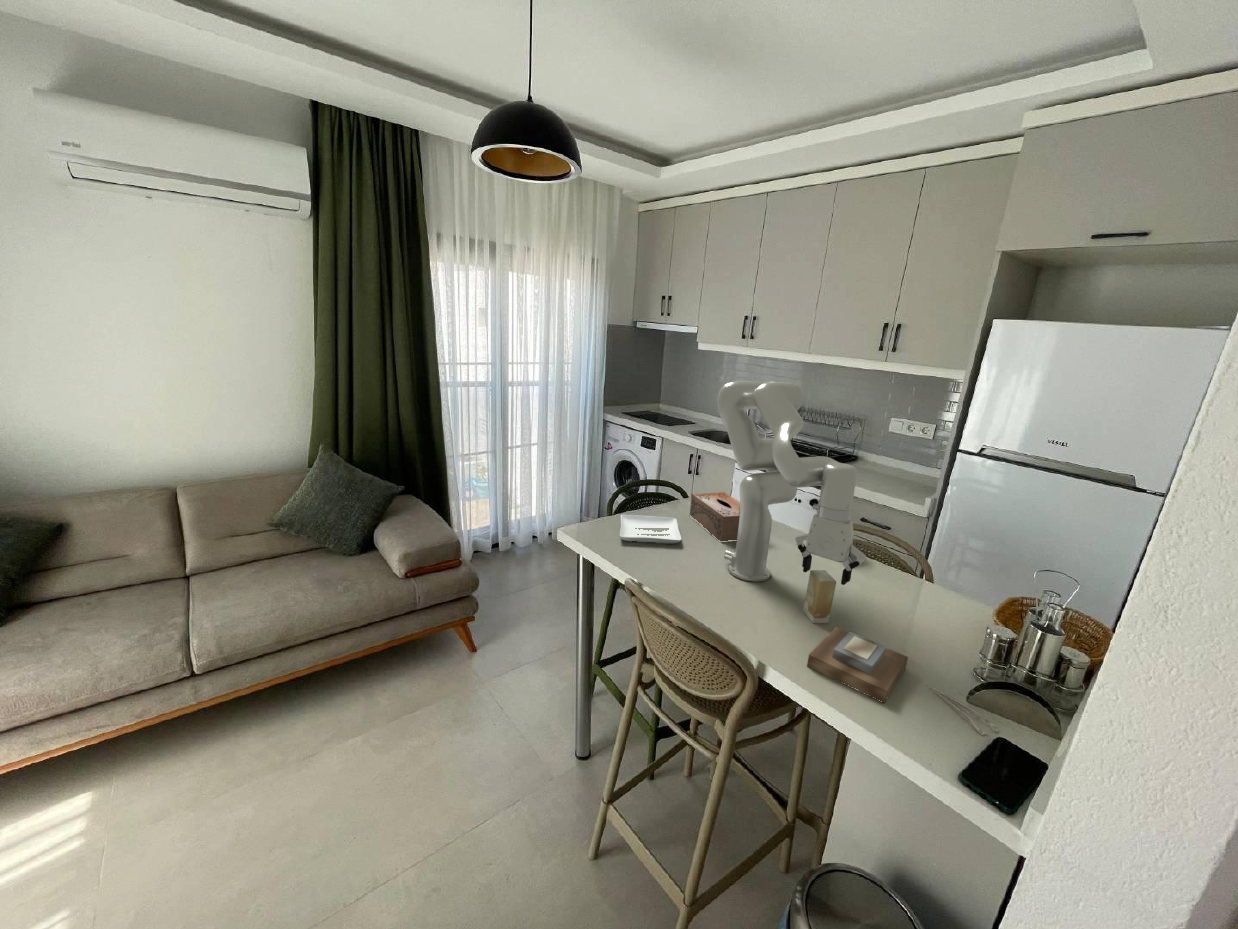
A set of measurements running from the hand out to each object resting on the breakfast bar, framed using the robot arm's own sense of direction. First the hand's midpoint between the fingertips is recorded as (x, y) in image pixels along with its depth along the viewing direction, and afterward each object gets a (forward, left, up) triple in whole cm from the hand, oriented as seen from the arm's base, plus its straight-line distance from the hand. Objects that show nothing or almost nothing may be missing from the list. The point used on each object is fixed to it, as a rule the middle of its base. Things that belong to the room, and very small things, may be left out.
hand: (825, 576), depth 129 cm
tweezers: (+32, -11, -13) cm, 36 cm away
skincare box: (-1, 0, -12) cm, 12 cm away
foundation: (+14, -14, -12) cm, 23 cm away
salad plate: (-66, +10, -13) cm, 68 cm away
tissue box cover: (-52, +36, -13) cm, 64 cm away
